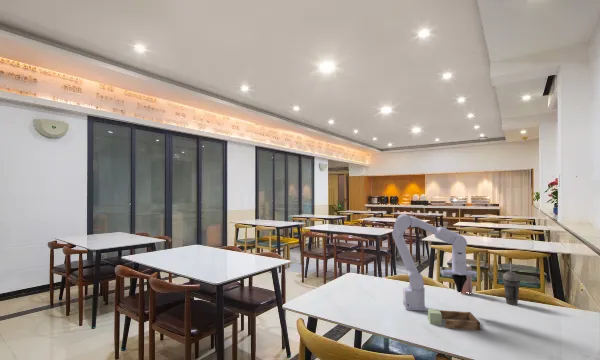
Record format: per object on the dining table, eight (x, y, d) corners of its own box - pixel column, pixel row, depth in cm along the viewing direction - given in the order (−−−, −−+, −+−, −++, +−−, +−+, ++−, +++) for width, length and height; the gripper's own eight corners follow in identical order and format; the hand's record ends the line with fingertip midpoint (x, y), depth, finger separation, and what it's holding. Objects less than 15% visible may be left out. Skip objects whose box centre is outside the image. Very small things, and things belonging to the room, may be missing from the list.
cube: (430, 323, 129) (430, 313, 129) (427, 319, 133) (427, 308, 134) (441, 324, 128) (441, 313, 128) (439, 320, 133) (438, 309, 133)
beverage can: (456, 291, 169) (456, 263, 169) (467, 291, 169) (466, 263, 170) (463, 295, 163) (463, 266, 163) (474, 295, 163) (473, 266, 164)
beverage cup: (504, 305, 149) (504, 263, 150) (501, 299, 156) (500, 260, 157) (522, 307, 147) (522, 264, 147) (518, 301, 153) (517, 261, 154)
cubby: (446, 327, 125) (446, 320, 125) (439, 317, 135) (439, 310, 135) (480, 330, 123) (480, 322, 123) (470, 319, 133) (470, 312, 133)
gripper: (444, 263, 138) (444, 293, 138) (479, 264, 136) (480, 295, 136) (440, 259, 145) (440, 288, 145) (473, 260, 143) (473, 290, 142)
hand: (459, 291), depth 141 cm, fingers closed
